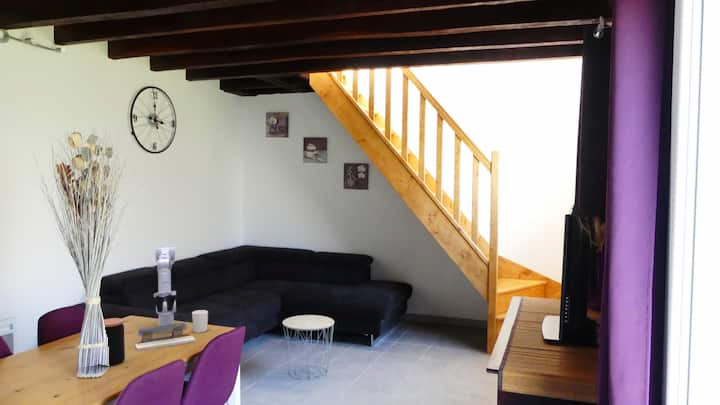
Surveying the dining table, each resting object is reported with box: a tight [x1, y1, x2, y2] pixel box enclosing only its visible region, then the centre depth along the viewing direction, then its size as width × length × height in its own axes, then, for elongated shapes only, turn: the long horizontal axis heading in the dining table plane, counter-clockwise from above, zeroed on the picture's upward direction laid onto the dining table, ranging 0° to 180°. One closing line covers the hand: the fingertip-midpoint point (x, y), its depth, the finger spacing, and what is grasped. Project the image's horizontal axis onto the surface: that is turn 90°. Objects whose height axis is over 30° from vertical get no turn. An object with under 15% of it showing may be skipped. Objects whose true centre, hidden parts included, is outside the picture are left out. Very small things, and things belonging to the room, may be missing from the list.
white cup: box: [191, 309, 209, 334], centre depth 275 cm, size 8×8×10 cm
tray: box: [134, 335, 196, 352], centre depth 253 cm, size 7×26×1 cm, turn 121°
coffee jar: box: [103, 317, 126, 367], centre depth 228 cm, size 11×11×18 cm
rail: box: [137, 322, 187, 337], centre depth 260 cm, size 3×22×3 cm, turn 121°
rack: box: [140, 328, 184, 344], centre depth 260 cm, size 6×19×5 cm, turn 121°
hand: (164, 311), depth 255 cm, fingers open, 7 cm apart
